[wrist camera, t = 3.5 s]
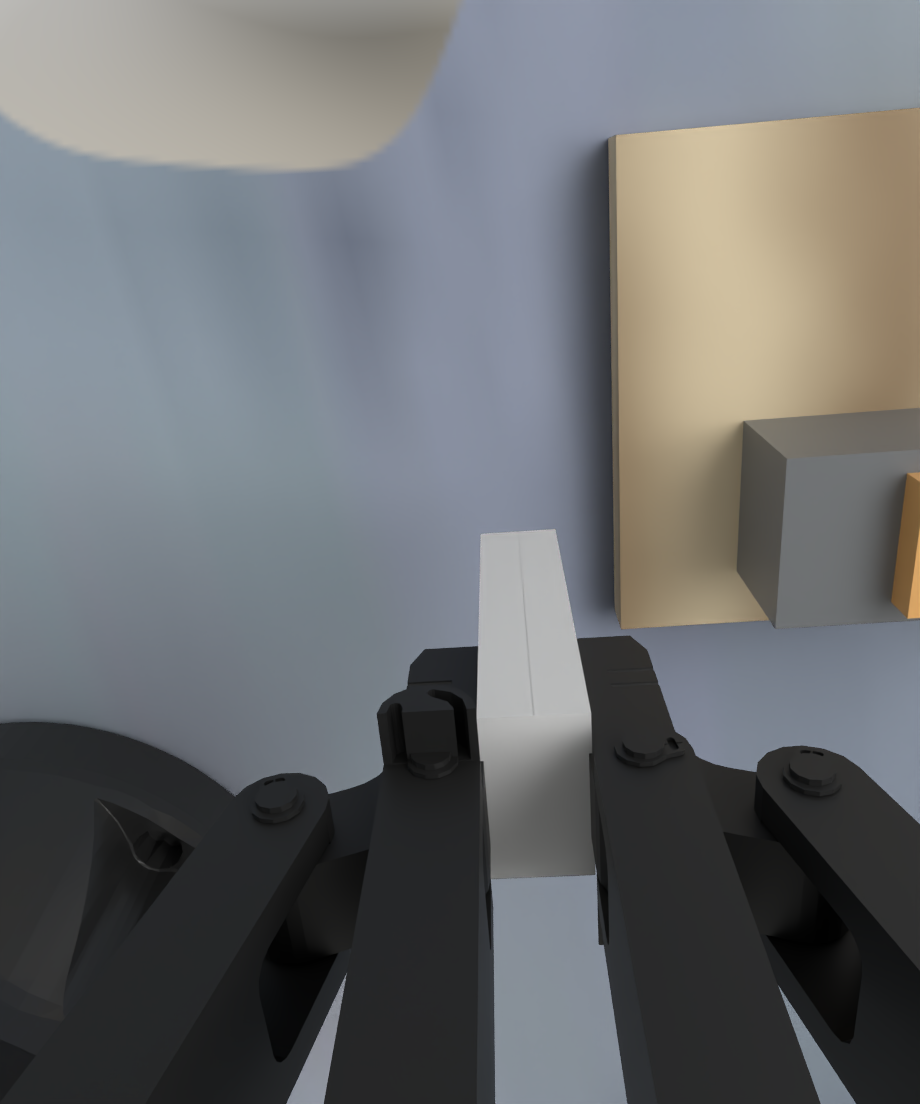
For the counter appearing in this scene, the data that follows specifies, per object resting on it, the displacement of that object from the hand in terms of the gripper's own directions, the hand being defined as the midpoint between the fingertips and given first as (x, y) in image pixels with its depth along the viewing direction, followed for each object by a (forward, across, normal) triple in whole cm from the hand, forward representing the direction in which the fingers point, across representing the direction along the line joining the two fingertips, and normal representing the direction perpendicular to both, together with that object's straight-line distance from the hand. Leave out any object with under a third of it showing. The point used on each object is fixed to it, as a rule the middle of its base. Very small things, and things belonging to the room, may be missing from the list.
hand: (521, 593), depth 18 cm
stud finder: (+5, +10, 0) cm, 11 cm away
